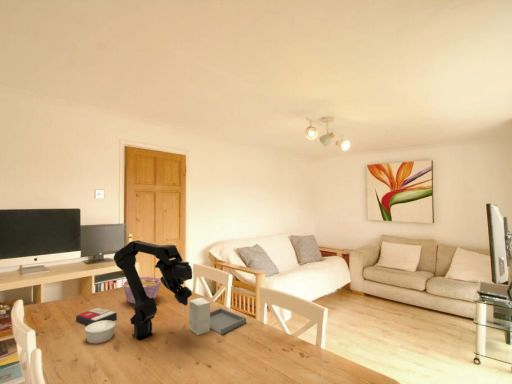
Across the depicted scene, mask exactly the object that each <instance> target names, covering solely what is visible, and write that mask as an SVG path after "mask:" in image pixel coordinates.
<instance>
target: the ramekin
mask: <svg viewBox="0 0 512 384" xmlns="http://www.w3.org/2000/svg"><path fill="white" fill-rule="evenodd" d="M115 327H116V322H115V321H110V320H103V321H97V322H94V323H91V324H89V325H88V326H87V325H86V327H85V328H84V332H85V336H86V341H87V342H88V343H89V344H96V345H97V344H102V343H105V342H107V341H109V340H110V339H112V337H113V336H114V335H113V334H114V332H115Z"/></svg>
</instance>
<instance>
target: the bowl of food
mask: <svg viewBox="0 0 512 384" xmlns="http://www.w3.org/2000/svg"><path fill="white" fill-rule="evenodd" d="M139 277H140V276H139ZM160 279H161V278H159V277H154V276H141V277H140V280H141V282H142V285H143V287H144V290H145V292H146V295H147V296H148V297H149V298H152V297H153V298H154V300H155V299H156V297H157V296H158V294H159V291H160V286H161V283H162V282H161V280H160ZM122 286H123V287H122V288H123V290H124V295H125V299H126V300H127V301H128V302H129V303H131V304H134V305H135V299H134V297H133V294H132V292H131V289H130V286H129V284H128V281H127V280H125V281H124V282H123V283H122Z"/></svg>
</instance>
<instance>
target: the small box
mask: <svg viewBox="0 0 512 384" xmlns="http://www.w3.org/2000/svg"><path fill="white" fill-rule="evenodd" d="M210 312H211V302H210V301H208V300H206V299H205V298H203V297H198V298H194V299H190V300H189V316H188V317H189V318H188V319H189V320H188V321H189V322H188V323H189V325H188V330H190V331H192V332H193V333H194V334H195V335H196V336H200V335H203V334H206V333H208V332H210V331H211V329H210Z"/></svg>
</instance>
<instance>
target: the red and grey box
mask: <svg viewBox="0 0 512 384" xmlns="http://www.w3.org/2000/svg"><path fill="white" fill-rule="evenodd" d="M103 320H110V321H113V322H115V321H117V312H115V311H112V310H109V309H104V308H100V307H96V308H92V309H89V310H88V311H85V312H82V313H79V314H77V315H76V316H75V322H76V323H78V324H80V325H81V324H82V325H83V324H84V325H83V326H86V327H87V326H88V325H89V324H91V323H94V322H97V321H103Z"/></svg>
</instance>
